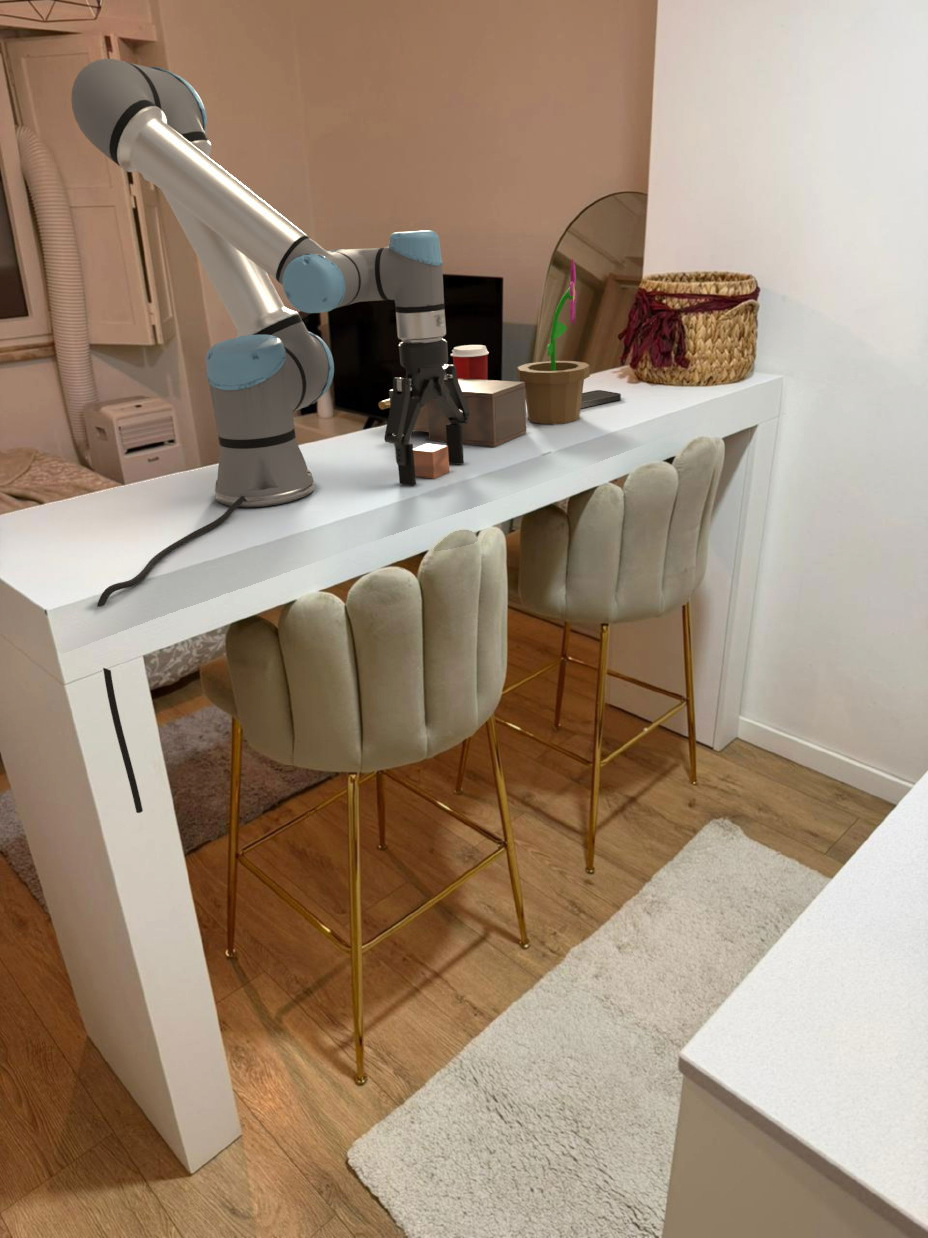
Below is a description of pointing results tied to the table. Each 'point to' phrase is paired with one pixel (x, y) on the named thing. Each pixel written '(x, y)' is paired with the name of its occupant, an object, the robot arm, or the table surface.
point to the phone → (598, 398)
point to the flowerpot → (555, 376)
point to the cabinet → (485, 413)
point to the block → (431, 460)
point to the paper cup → (470, 361)
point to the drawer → (422, 417)
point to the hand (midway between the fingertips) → (432, 473)
